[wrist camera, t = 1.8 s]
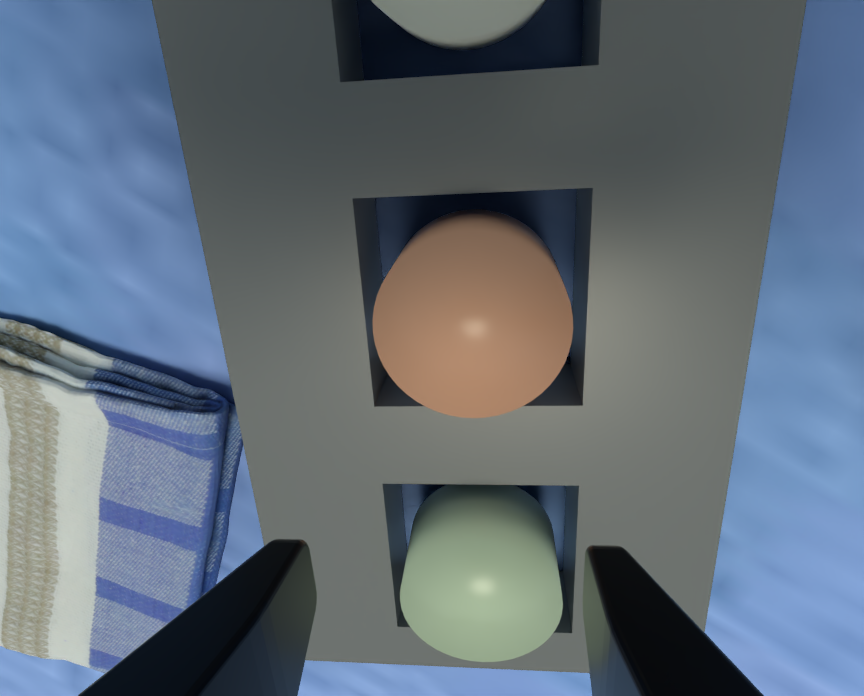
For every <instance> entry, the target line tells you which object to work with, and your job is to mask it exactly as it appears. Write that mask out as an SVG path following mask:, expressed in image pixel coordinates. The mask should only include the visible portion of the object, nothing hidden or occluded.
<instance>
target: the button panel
mask: <svg viewBox="0 0 864 696" xmlns="http://www.w3.org/2000/svg"><path fill="white" fill-rule="evenodd" d="M806 1H807V0H584V4H583V31H582V58H581V66H577V67H562V68H547V69H532V70H517V71H502V72H487V73H472V74H457V75H442V76H427V77H412V78H397V79H382V80H367V81H364V72H363V62H362V51H361V40H360V29H359V18H358V7H357V0H152V4H153V9H154V14H155V18H156V23H157V28H158V33H159V38H160V43H161V47H162V52H163V57H164V62H165V67H166V72H167V76H168V81H169V86H170V91H171V96H172V101H173V106H174V110H175V115H176V120H177V125H178V130H179V135H180V139H181V144H182V149H183V154H184V159H185V164H186V168H187V173H188V178H189V183H190V188H191V193H192V198H193V202H194V207H195V212H196V217H197V222H198V227H199V231H200V236H201V241H202V246H203V251H204V256H205V260H206V265H207V270H208V275H209V280H210V285H211V290H212V294H213V299H214V304H215V309H216V314H217V319H218V323H219V328H220V333H221V338H222V343H223V348H224V352H225V357H226V362H227V367H228V372H229V377H230V382H231V386H232V391H233V396H234V401H235V406H236V411H237V415H238V420H239V425H240V430H241V435H242V440H243V444H244V449H245V454H246V459H247V464H248V469H249V474H250V478H251V483H252V488H253V493H254V498H255V503H256V507H257V512H258V517H259V522H260V527H261V532H262V536H263V541H264V546H265V545H266V544H268V543H269V542H271V541H272V540H275V539H301V540H304V541H305V542H307V544H308V546H309V549H310V555H311V560H312V566H313V572H314V578H315V584H316V590H317V604H316V611H315V616H314V621H313V625H312V630H311V635H310V639H309V644H308V649H307V653H306V658H305V660H313V661H335V662H357V663H379V664H402V665H424V666H446V667H468V668H491V669H513V670H535V671H557V672H580V673H590V670H589V662H588V653H587V645H586V636H585V628H584V619H583V582H584V563H585V552H586V549H587V548H588V547H589V546H590V545H613V546H621V547H623V548H624V549H626V550H627V551H628V552H629V553H630V554H631V555H632V557H633V558H634V559H635V560H636V561H637V562H638V563H639V564H640V565H641V566H642V567H643V568H644V569H645V570H646V571H647V572H648V573H649V575H650V576H651V577H652V578H653V579H654V580H655V581H656V582H657V583H658V584H659V585H660V586H661V587H662V588H663V589H664V590H665V591H666V593H667V594H668V595H669V596H670V597H671V598H672V599H673V600H674V601H675V602H676V603H677V604H678V605H679V606H680V607H681V608H682V610H683V611H684V612H685V613H686V614H687V615H688V616H689V617H690V618H691V619H692V620H693V621H694V622H695V623H696V624H697V625H698V626H699V628H700V629H701V630H702V631H703V632H704V631H705V625H706V619H707V612H708V606H709V600H710V594H711V588H712V582H713V575H714V569H715V563H716V557H717V551H718V544H719V538H720V532H721V526H722V520H723V514H724V507H725V501H726V495H727V489H728V483H729V477H730V470H731V464H732V458H733V452H734V446H735V439H736V433H737V427H738V421H739V415H740V409H741V402H742V396H743V390H744V384H745V378H746V372H747V365H748V359H749V353H750V347H751V341H752V335H753V328H754V322H755V316H756V310H757V304H758V297H759V291H760V285H761V279H762V273H763V267H764V260H765V254H766V248H767V242H768V236H769V230H770V223H771V217H772V211H773V205H774V199H775V192H776V186H777V180H778V174H779V168H780V162H781V155H782V149H783V143H784V137H785V131H786V125H787V118H788V112H789V106H790V100H791V94H792V88H793V81H794V75H795V69H796V63H797V57H798V50H799V44H800V38H801V32H802V26H803V20H804V13H805V7H806ZM556 189H577V195H576V223H575V250H574V278H573V305H572V314H573V335H572V342H571V360H570V364H564V365H563V367H562V369H561V371H560V372H559V374H558V376H557V377H556V378H555V379H554V381H553V382H552V383H551V385H550V386H549V387H548V388H547V389H546V390H545V391H544V392H543V393H541V394H540V395H539V396H538V397H536V398H535V399H534V400H532V401H531V402H529V403H527V404H526V405H524V406H522V407H520V408H518V409H516V410H513V411H511V412H508V413H505V414H501V415H498V416H492V417H486V418H461V417H456V416H450V415H446V414H443V413H439V412H437V411H434V410H432V409H430V408H427V407H425V406H424V405H422V404H420V403H418V402H417V401H415V400H414V399H412V398H411V397H410V396H408V395H407V394H406V393H405V392H404V391H403V390H402V389H400V388H399V387H398V386H397V384H396V383H395V382H394V381H393V380H392V378H391V377H390V376H389V374H388V373H387V371H386V369H385V368H384V366H383V364H382V362H381V360H380V358H379V356H378V352H377V349H376V346H375V342H374V336H373V311H374V305H375V301H376V297H377V294H378V292H379V289H380V287H381V284H382V283H383V281H382V270H381V259H380V248H379V237H378V226H377V215H376V204H375V197H398V196H420V195H443V194H465V193H488V192H511V191H533V190H556ZM401 484H467V485H561V486H566V497H565V525H564V552H563V571H559V577H560V584H561V592H562V600H563V609H562V615H561V619H560V622H559V624H558V626H557V628H556V630H555V631H554V632H553V634H552V635H551V636H550V638H549V639H548V640H547V641H546V642H545V643H543V644H542V645H541V646H539V647H538V648H536V649H535V650H533V651H531V652H530V653H527V654H525V655H523V656H520V657H517V658H514V659H510V660H505V661H498V662H476V661H469V660H463V659H459V658H456V657H452V656H450V655H447V654H445V653H442V652H440V651H438V650H437V649H435V648H433V647H432V646H430V645H428V644H427V643H426V642H424V641H423V640H422V639H421V638H420V637H419V636H418V635H417V634H416V633H415V632H414V631H413V630H412V628H411V627H410V626H409V624H408V623H407V621H406V619H405V617H404V614H403V612H402V609H401V603H400V589H401V583H402V578H403V573H404V568H405V562H406V557H407V545H406V534H405V523H404V512H403V501H402V490H401Z"/></svg>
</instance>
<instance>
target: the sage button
mask: <svg viewBox="0 0 864 696" xmlns="http://www.w3.org/2000/svg"><path fill="white" fill-rule="evenodd" d="M400 603H401V609H402V612H403V614H404V617H405V619H406V621H407V623H408V624H409V626H410V627H411V628H412V630H413V631H414V632H415V633H416V634H417V635H418V636H419V637H420V638H421V639H422V640H423V641H424V642H426V643H427V644H428V645H430V646H432V647H433V648H435V649H437V650H438V651H440V652H442V653H445V654H447V655H450V656H452V657H456V658H459V659H463V660H469V661H476V662H498V661H505V660H510V659H514V658H517V657H520V656H523V655H525V654H527V653H530V652H531V651H533V650H535V649H536V648H538V647H539V646H541V645H542V644H543V643H545V642H546V641H547V640H548V639H549V638H550V636H551V635H552V634H553V632H554V631H555V630H556V628H557V626H558V624H559V622H560V619H561V615H562V609H563V600H562V592H561V584H560V577H559V570H558V563H557V556H556V549H555V542H554V534H553V529H552V524H551V522H550V519H549V517H548V515H547V513H546V511H545V510H544V508H543V507H542V506H541V505H540V503H539V502H538V501H537V500H536V499H535V498H533V497H532V496H531V495H530V494H528V493H527V492H526V491H524V490H522V489H520V488H518V487H516V486H514V485H467V484H448V485H445V486H443V487H442V488H440V489H438V490H436V491H435V492H434V493H432V494H431V495H430V496H429V497H428V498H427V499H426V500H425V501H424V502H423V503H422V505H421V506H420V507H419V509H418V511H417V513H416V515H415V518H414V521H413V526H412V531H411V536H410V541H409V547H408V552H407V557H406V562H405V568H404V573H403V578H402V583H401V589H400Z"/></svg>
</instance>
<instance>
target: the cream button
mask: <svg viewBox="0 0 864 696" xmlns="http://www.w3.org/2000/svg"><path fill="white" fill-rule="evenodd" d="M371 1H372V2H373V3H374V4H375V5H376V6H377V7H378V8H379V9H381V10H382V11H383V12H384V13H385V14H386V15H387V16H389V17H390V18H391V19H392V20H393V21H395V22H396V23H397V24H398V25H399V26H401V27H402V28H403V29H404V30H405V31H407V32H408V33H410V34H411V35H413V36H414V37H416V38H417V39H419V40H421V41H423V42H425V43H428V44H430V45H433V46H436V47H439V48H444V49H450V50H472V49H479V48H483V47H486V46H490V45H493V44H495V43H498V42H500V41H502V40H504V39H506V38H508V37H509V36H511V35H512V34H514V33H516V32H517V31H518V30H520V29H521V28H522V27H523V26H524V25H526V24H527V23H528V22H529V21H530V20H531V19H532V18H533V17H534V16H535V15H536V14H537V13H538V11H539V10H540V9H541V7H542V6H543V5H544V3H545V2H546V1H547V0H371Z"/></svg>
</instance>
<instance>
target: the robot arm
mask: <svg viewBox="0 0 864 696" xmlns="http://www.w3.org/2000/svg"><path fill="white" fill-rule="evenodd" d="M316 604H317V590H316V584H315V578H314V572H313V566H312V560H311V555H310V549H309V546H308V544H307V542H305V541H304V540H301V539H275V540H272V541H271V542H269V543H268V544H266V545H265V546H264V547H263V548H261V549H260V550H259V551H258V552H256V553H255V554H254V555H253V556H251V557H250V558H249V559H248V560H246V561H245V562H244V563H243V564H241V565H240V566H239V567H238V568H236V569H235V570H234V571H233V572H231V573H230V574H229V575H228V576H226V577H225V578H224V579H223V580H221V581H220V582H219V583H218V584H216V585H215V586H214V587H213V588H211V589H210V590H209V591H208V592H206V593H205V594H204V595H203V596H201V597H200V598H199V599H198V600H196V601H195V602H194V603H193V604H191V605H190V606H189V607H188V608H186V609H185V610H184V611H183V612H181V613H180V614H179V615H178V616H176V617H175V618H174V619H173V620H171V621H170V622H169V623H168V624H166V625H165V626H164V627H163V628H161V629H160V630H159V631H158V632H156V633H155V634H154V635H153V636H151V637H150V638H149V639H148V640H146V641H145V642H144V643H143V644H141V645H140V646H139V647H138V648H136V649H135V650H134V651H133V652H131V653H130V654H129V655H128V656H126V657H125V658H124V659H123V660H121V661H120V662H119V663H118V664H116V665H115V666H114V667H113V668H112V669H110V670H109V671H108V672H107V673H105V674H104V675H103V676H102V677H100V678H99V679H98V680H97V681H95V682H94V683H93V684H92V685H90V686H89V687H88V688H87V689H85V690H84V691H83V692H82V693H80V694H79V695H78V696H297V695H298V690H299V685H300V681H301V676H302V672H303V667H304V662H305V658H306V653H307V649H308V644H309V639H310V635H311V630H312V625H313V621H314V616H315V611H316ZM583 619H584V628H585V636H586V645H587V653H588V662H589V670H590V679H591V687H592V696H764V695H763V694H762V693H761V692H760V691H759V690H758V689H757V688H756V687H755V686H754V685H753V684H752V683H751V682H750V681H749V679H748V678H747V677H746V676H745V675H744V674H743V673H742V672H741V671H740V670H739V669H738V668H737V667H736V666H735V665H734V664H733V663H732V661H731V660H730V659H729V658H728V657H727V656H726V655H725V654H724V653H723V652H722V651H721V650H720V649H719V648H718V647H717V646H716V645H715V643H714V642H713V641H712V640H711V639H710V638H709V637H708V636H707V635H706V634H705V633H704V632H703V631H702V630H701V629H700V628H699V626H698V625H697V624H696V623H695V622H694V621H693V620H692V619H691V618H690V617H689V616H688V615H687V614H686V613H685V612H684V611H683V610H682V608H681V607H680V606H679V605H678V604H677V603H676V602H675V601H674V600H673V599H672V598H671V597H670V596H669V595H668V594H667V593H666V591H665V590H664V589H663V588H662V587H661V586H660V585H659V584H658V583H657V582H656V581H655V580H654V579H653V578H652V577H651V576H650V575H649V573H648V572H647V571H646V570H645V569H644V568H643V567H642V566H641V565H640V564H639V563H638V562H637V561H636V560H635V559H634V558H633V557H632V555H631V554H630V553H629V552H628V551H627V550H626V549H624V548H623V547H621V546H613V545H590V546H589V547H588V548H587V549H586V552H585V563H584V582H583Z"/></svg>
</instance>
